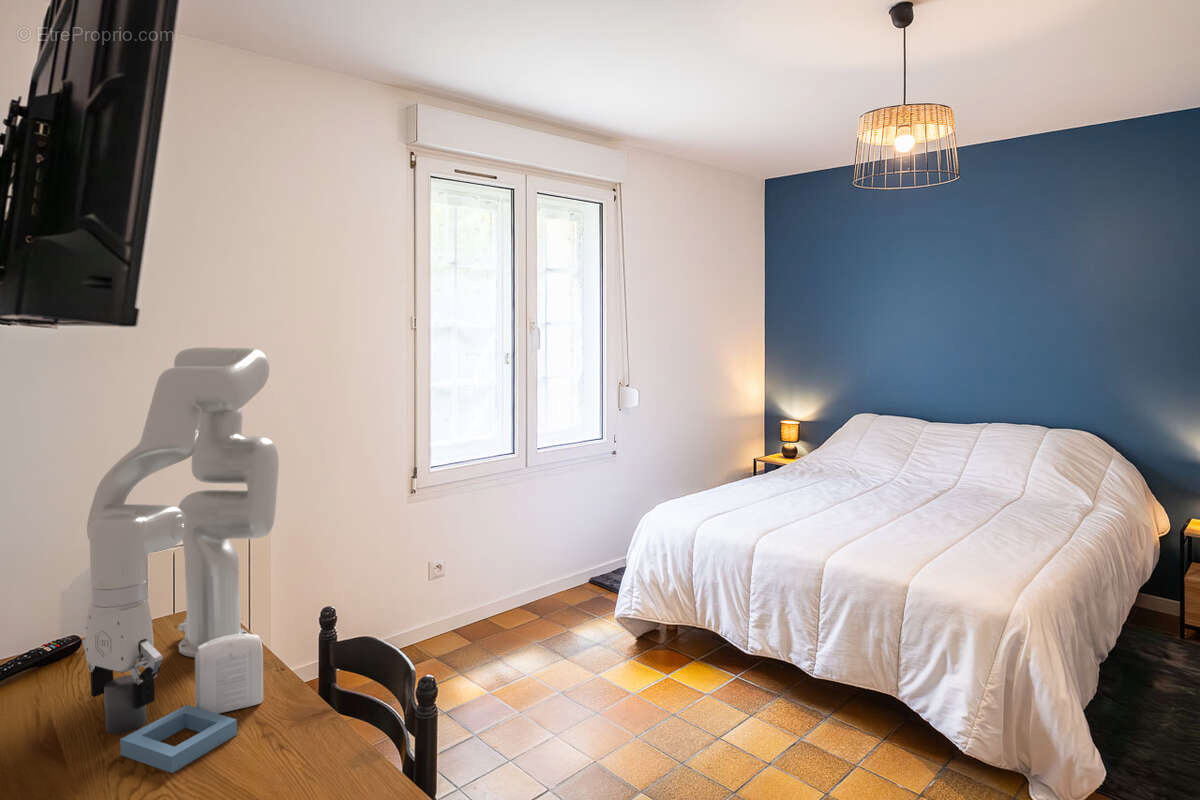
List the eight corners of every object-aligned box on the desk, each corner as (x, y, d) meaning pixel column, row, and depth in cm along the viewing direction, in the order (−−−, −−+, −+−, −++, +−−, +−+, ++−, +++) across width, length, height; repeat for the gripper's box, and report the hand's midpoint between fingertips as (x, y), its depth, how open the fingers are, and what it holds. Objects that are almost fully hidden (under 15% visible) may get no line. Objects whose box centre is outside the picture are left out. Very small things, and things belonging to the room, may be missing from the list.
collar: (120, 755, 108) (120, 739, 107) (187, 719, 118) (187, 704, 117) (172, 773, 103) (171, 756, 103) (237, 734, 114) (236, 719, 113)
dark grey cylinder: (97, 729, 114) (95, 687, 114) (131, 712, 119) (130, 672, 119) (121, 737, 112) (119, 694, 112) (154, 720, 117) (153, 678, 117)
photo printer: (261, 693, 126) (260, 625, 125) (265, 704, 123) (264, 634, 122) (194, 709, 121) (192, 638, 120) (197, 721, 117) (194, 648, 116)
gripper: (59, 593, 114) (62, 698, 115) (134, 609, 107) (136, 721, 108) (107, 579, 121) (110, 679, 122) (180, 594, 114) (182, 699, 115)
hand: (122, 698), depth 115 cm, fingers open, 9 cm apart
